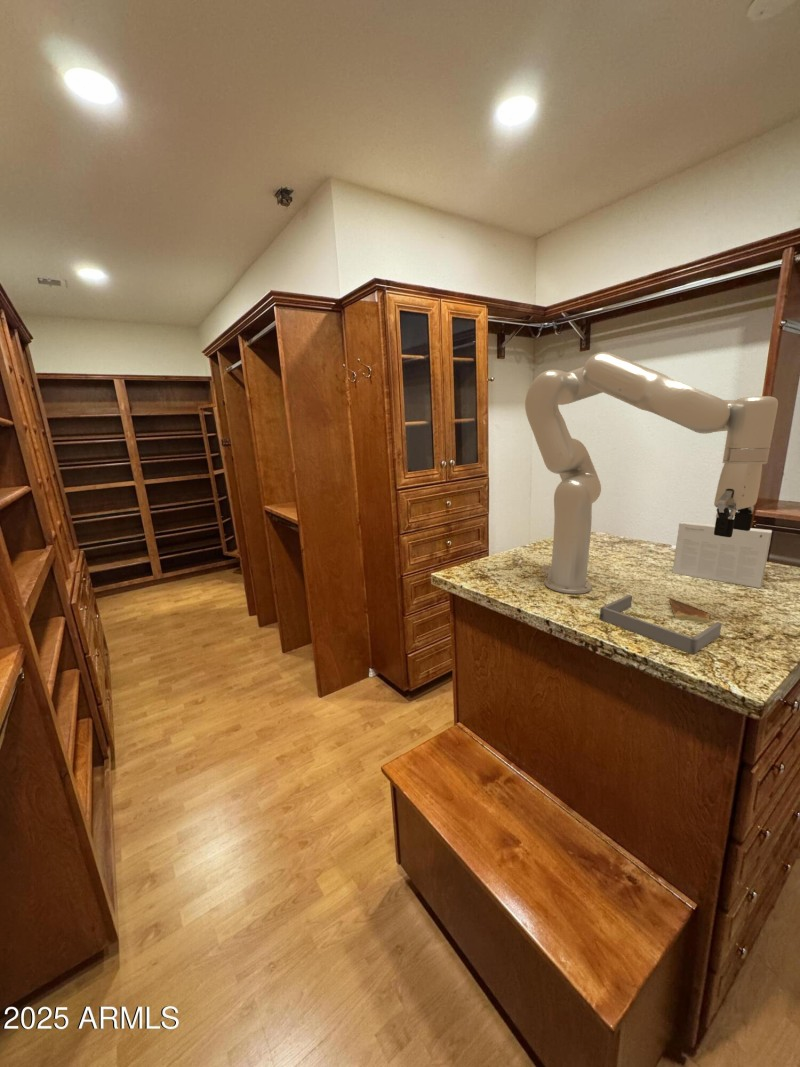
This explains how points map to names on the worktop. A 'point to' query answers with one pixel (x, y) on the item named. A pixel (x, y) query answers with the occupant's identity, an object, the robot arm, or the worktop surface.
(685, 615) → the shard
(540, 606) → the worktop surface
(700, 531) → the skincare box
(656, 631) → the grey u-shaped bracket
